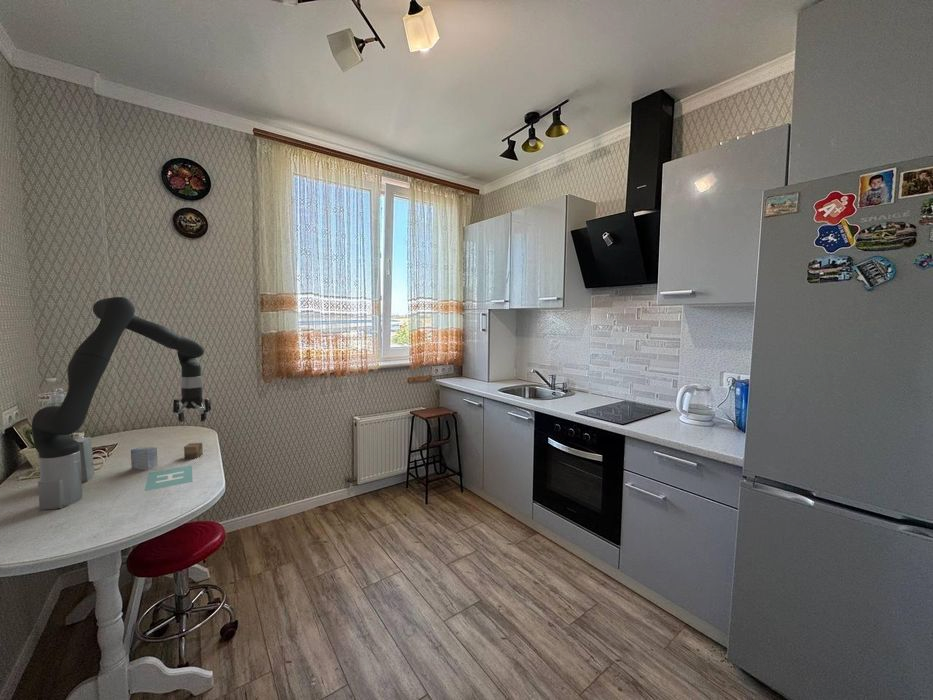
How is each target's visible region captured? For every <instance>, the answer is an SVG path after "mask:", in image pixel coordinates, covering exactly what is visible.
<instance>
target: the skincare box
mask: <svg viewBox="0 0 933 700" xmlns="http://www.w3.org/2000/svg"><path fill="white" fill-rule="evenodd" d="M73 439H74V440H76V441H77V442H78V443H79V445H80V461H81V478H82V483H85V481H87V482H89V480H90V479H91V478H93V476H94V475H95V466H94V465H95V464H94V456H93V449H92V448H93V446H92V437H91V436H87V437H82V438H81V437H80V438H73Z"/></svg>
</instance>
